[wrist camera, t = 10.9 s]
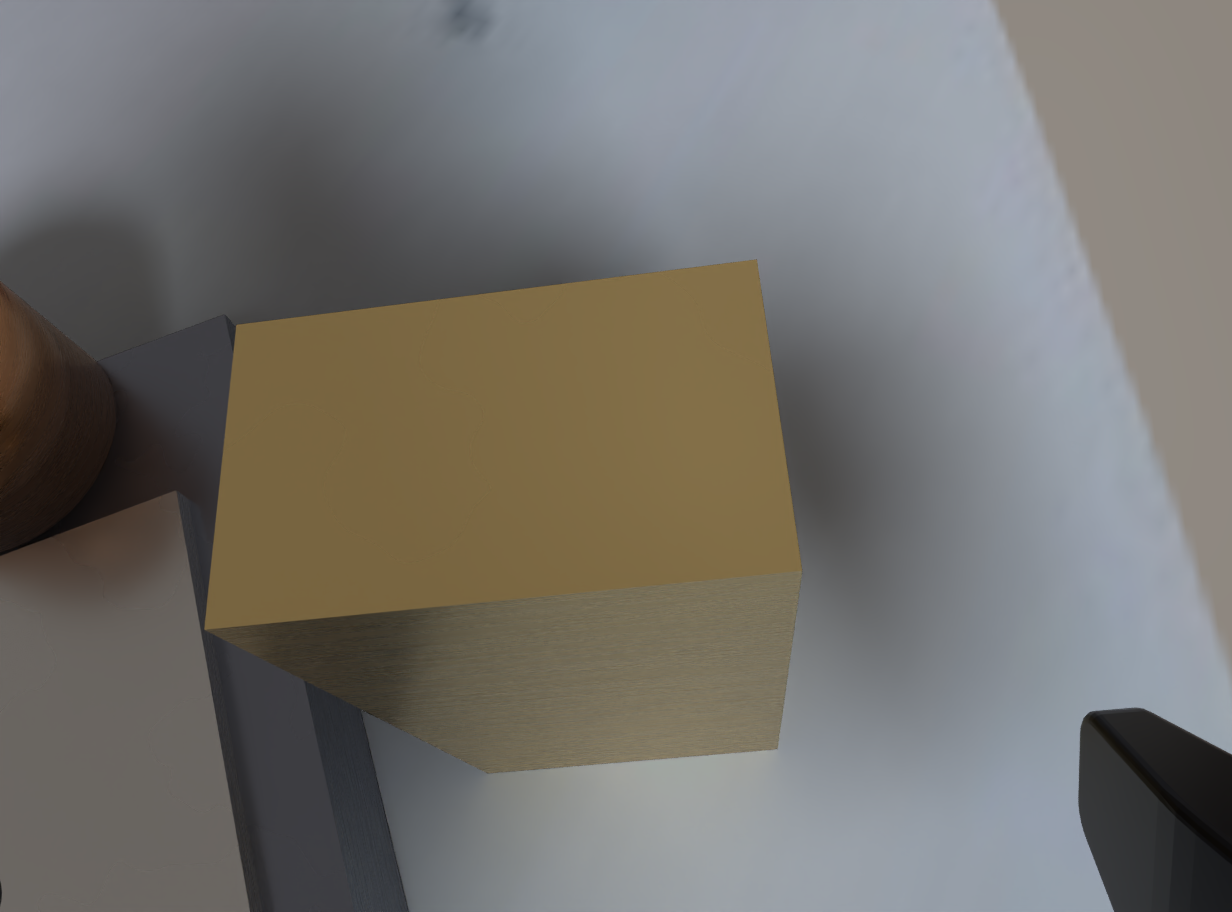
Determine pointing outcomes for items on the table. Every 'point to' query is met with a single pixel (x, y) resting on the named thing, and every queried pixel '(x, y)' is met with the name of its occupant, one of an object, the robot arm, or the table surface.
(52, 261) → the table surface
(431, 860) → the table surface
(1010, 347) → the table surface
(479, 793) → the table surface
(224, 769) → the plane body
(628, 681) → the brushed brass block
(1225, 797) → the robot arm
